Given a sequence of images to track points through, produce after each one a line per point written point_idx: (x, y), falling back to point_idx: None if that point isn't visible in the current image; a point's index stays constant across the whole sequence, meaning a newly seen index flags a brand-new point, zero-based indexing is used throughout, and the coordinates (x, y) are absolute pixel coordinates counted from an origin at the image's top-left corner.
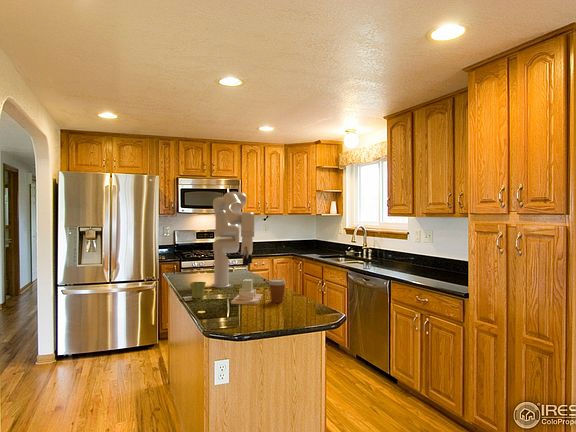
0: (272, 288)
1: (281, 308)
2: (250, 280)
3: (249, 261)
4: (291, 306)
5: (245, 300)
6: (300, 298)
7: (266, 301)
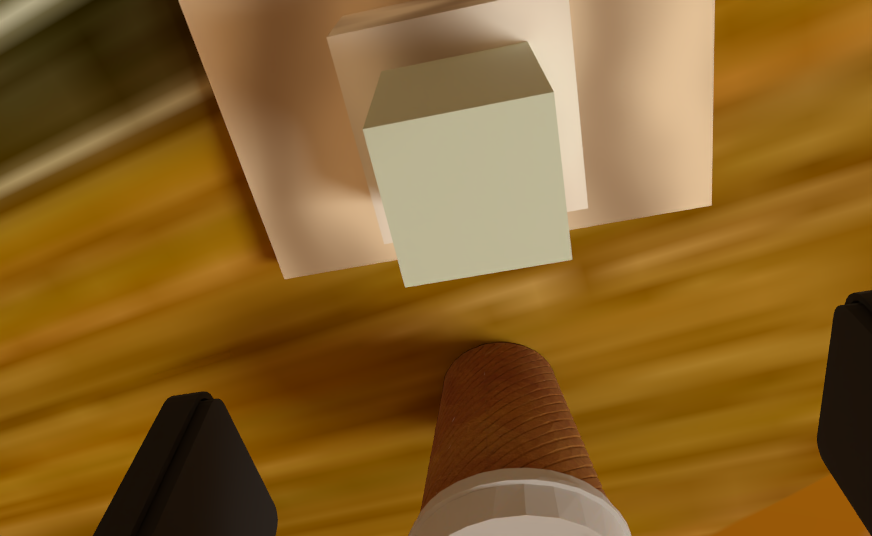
0: (429, 480)
1: (264, 474)
2: (444, 263)
3: (854, 443)
4: (363, 513)
5: (296, 137)
6: (684, 507)
7: (476, 300)
